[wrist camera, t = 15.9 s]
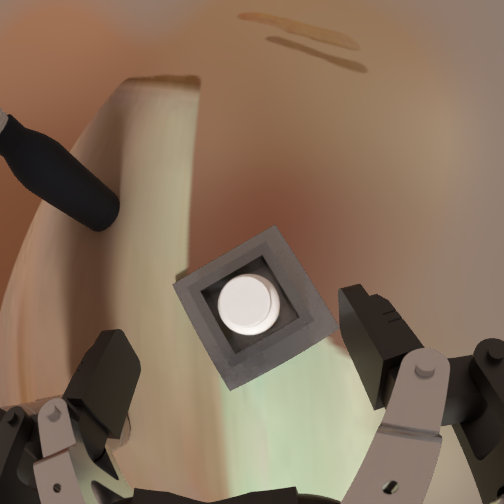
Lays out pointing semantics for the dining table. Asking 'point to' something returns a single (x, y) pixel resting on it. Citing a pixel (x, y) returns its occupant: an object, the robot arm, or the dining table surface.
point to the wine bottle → (56, 175)
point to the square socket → (287, 325)
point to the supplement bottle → (249, 304)
